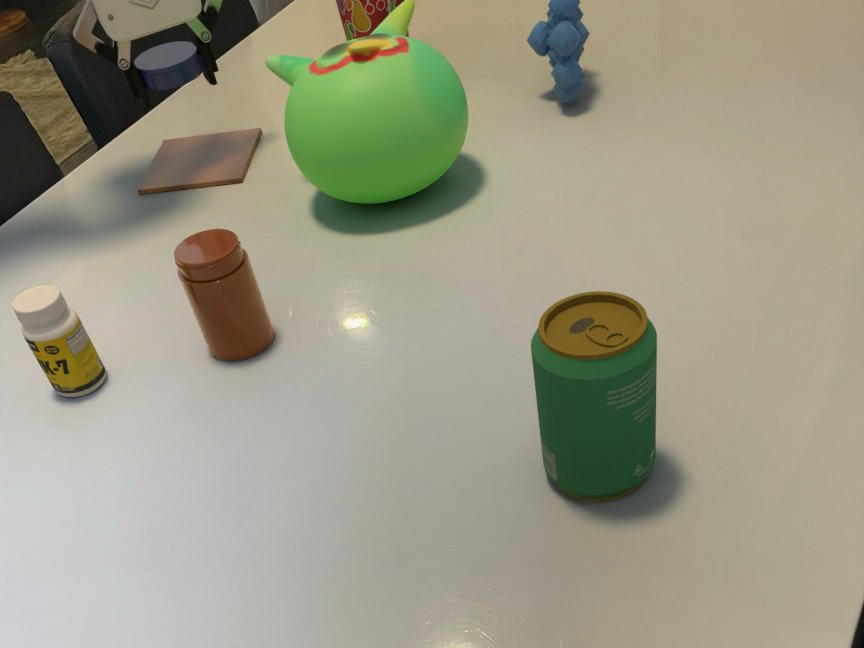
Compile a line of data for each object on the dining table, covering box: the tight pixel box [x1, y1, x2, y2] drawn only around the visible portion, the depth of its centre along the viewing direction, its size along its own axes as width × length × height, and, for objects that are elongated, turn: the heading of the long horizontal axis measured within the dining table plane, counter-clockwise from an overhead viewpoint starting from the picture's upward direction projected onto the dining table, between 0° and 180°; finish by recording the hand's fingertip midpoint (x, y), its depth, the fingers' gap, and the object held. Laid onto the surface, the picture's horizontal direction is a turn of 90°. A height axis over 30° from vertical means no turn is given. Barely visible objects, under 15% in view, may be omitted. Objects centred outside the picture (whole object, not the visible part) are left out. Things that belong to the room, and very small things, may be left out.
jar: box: [173, 228, 276, 362], centre depth 82 cm, size 6×6×9 cm
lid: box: [133, 40, 204, 91], centre depth 102 cm, size 7×7×2 cm
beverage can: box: [530, 290, 658, 502], centre depth 65 cm, size 8×8×12 cm
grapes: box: [526, 0, 590, 105], centre depth 103 cm, size 12×7×12 cm, turn 175°
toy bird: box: [264, 0, 469, 205], centre depth 94 cm, size 18×17×15 cm
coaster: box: [137, 127, 263, 195], centre depth 109 cm, size 12×12×1 cm
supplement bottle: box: [11, 284, 107, 398], centre depth 82 cm, size 5×5×8 cm
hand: (178, 90), depth 104 cm, fingers closed on lid, 6 cm apart
